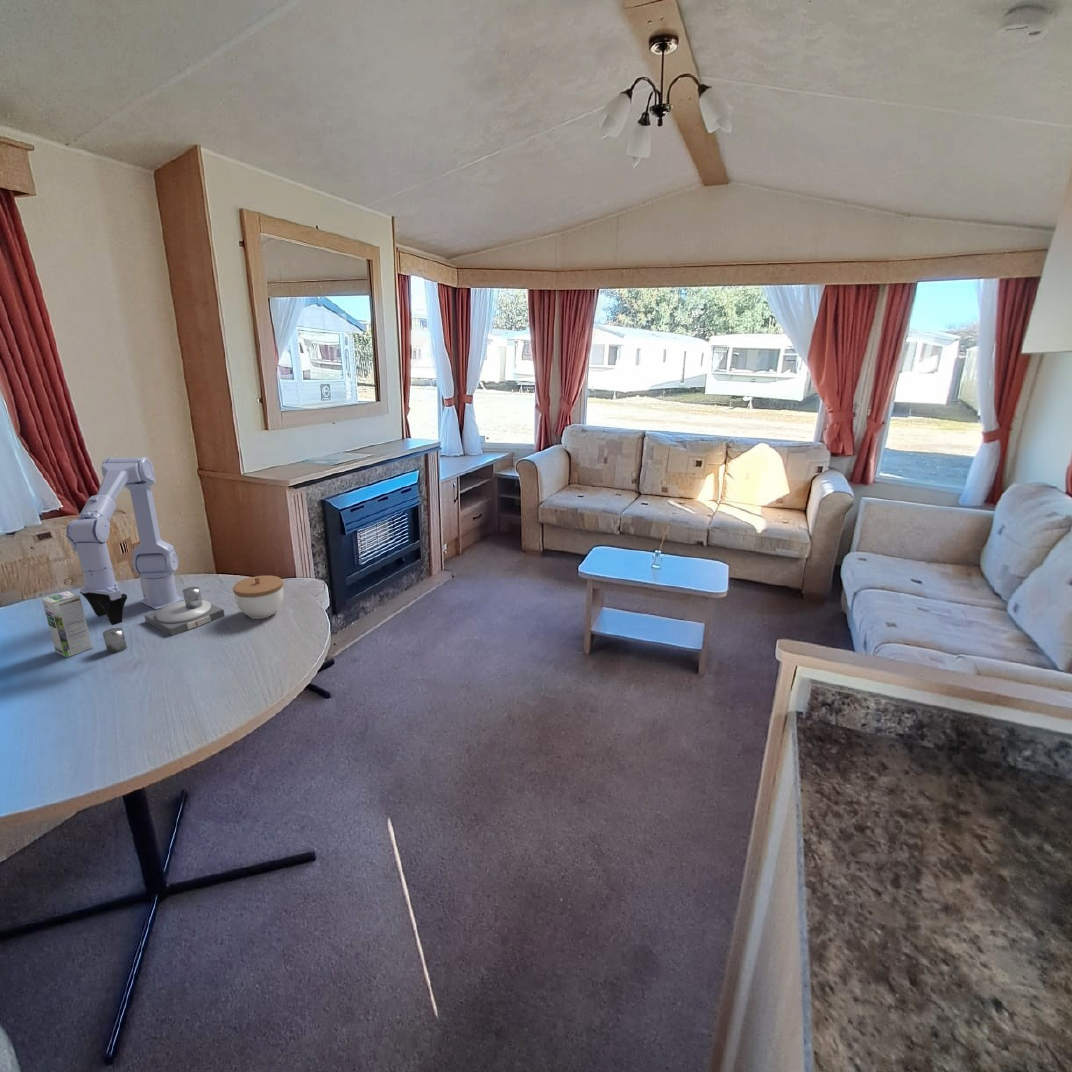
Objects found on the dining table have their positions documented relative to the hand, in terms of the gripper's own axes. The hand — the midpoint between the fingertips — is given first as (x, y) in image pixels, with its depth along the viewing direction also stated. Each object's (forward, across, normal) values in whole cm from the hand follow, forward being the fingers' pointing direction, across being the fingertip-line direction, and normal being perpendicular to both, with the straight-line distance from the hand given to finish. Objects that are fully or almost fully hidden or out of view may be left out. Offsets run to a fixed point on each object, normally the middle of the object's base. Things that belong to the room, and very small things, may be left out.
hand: (109, 619), depth 138 cm
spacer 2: (+6, -3, +21) cm, 22 cm away
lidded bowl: (+8, +11, +32) cm, 35 cm away
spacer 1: (+8, 0, 0) cm, 8 cm away
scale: (+8, -3, +18) cm, 20 cm away
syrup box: (+8, -8, -6) cm, 13 cm away
